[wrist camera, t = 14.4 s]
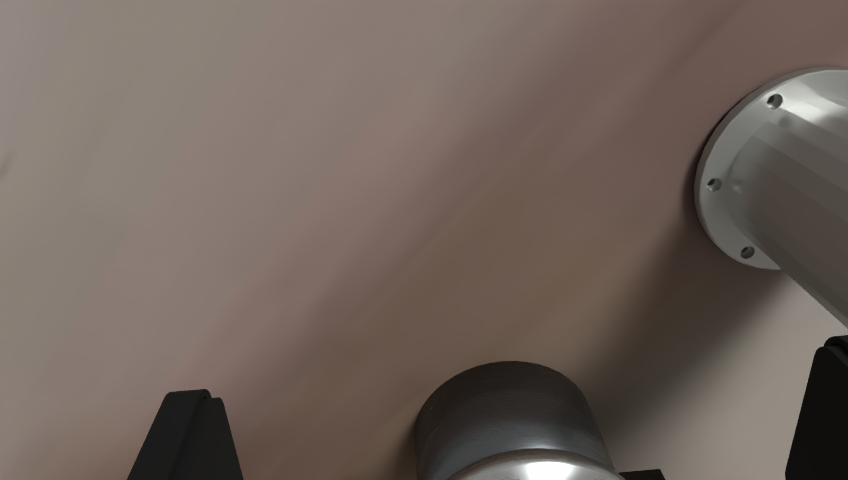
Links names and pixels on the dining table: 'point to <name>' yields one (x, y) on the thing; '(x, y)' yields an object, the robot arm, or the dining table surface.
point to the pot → (506, 420)
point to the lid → (539, 467)
